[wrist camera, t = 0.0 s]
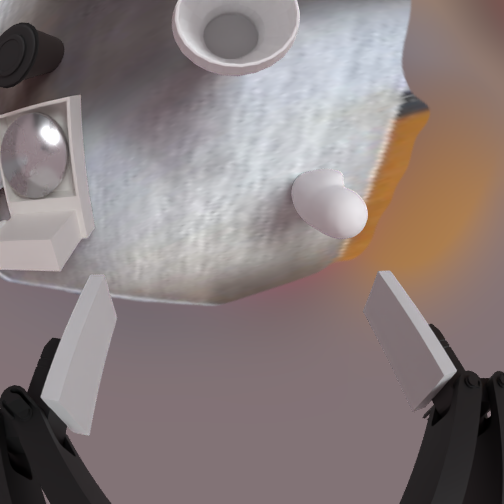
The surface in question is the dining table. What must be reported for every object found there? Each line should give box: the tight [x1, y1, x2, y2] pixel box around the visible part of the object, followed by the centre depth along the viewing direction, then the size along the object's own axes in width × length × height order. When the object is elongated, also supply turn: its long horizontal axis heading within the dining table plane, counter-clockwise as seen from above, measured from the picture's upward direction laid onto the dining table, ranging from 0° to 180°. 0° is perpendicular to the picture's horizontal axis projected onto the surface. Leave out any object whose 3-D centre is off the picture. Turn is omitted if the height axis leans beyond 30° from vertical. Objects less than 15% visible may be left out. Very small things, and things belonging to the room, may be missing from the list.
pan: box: [1, 112, 69, 198], centre depth 30 cm, size 12×12×3 cm
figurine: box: [291, 169, 368, 239], centre depth 36 cm, size 7×8×12 cm
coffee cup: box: [0, 23, 64, 88], centre depth 21 cm, size 8×8×10 cm
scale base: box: [0, 95, 95, 271], centre depth 29 cm, size 21×14×11 cm
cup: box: [172, 0, 300, 76], centre depth 23 cm, size 11×11×15 cm
